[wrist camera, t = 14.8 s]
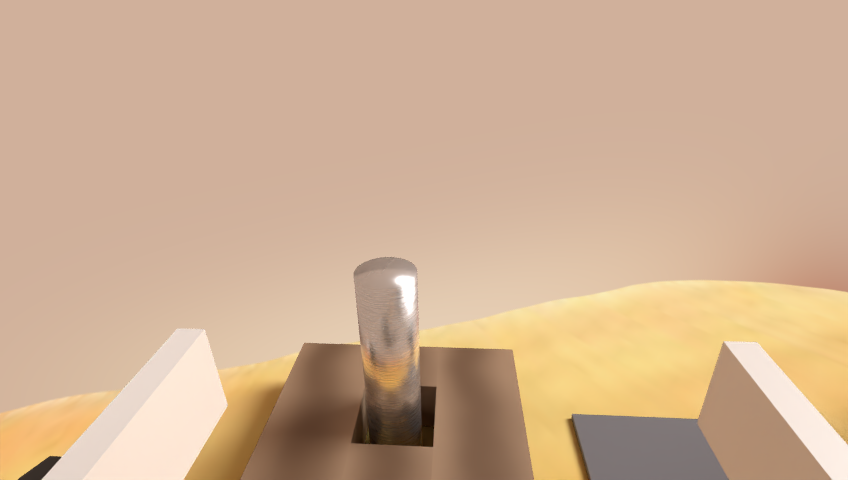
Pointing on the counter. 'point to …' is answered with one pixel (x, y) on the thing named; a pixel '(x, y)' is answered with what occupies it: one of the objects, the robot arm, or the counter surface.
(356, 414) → the socket block
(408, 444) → the metal pin
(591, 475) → the rubber mat
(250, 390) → the counter surface
